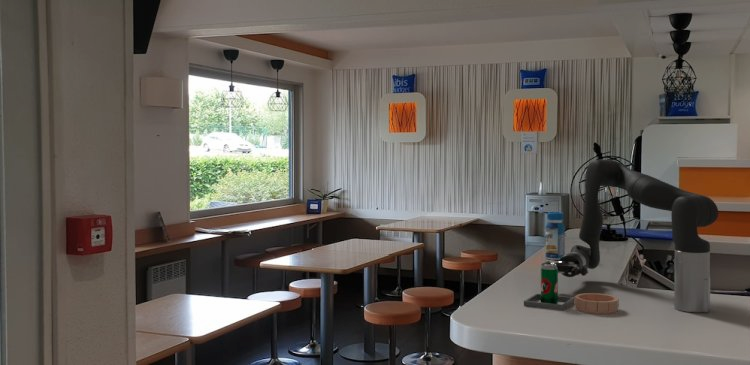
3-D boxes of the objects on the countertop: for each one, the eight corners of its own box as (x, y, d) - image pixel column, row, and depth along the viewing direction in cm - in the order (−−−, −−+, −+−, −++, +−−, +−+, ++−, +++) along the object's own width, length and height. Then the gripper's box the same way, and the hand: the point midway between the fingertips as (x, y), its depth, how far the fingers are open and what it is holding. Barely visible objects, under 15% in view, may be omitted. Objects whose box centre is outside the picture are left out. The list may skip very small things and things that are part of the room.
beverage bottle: (567, 260, 284) (567, 213, 283) (547, 260, 284) (547, 213, 283) (562, 257, 292) (562, 211, 291) (543, 257, 292) (543, 211, 292)
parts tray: (574, 302, 205) (574, 297, 205) (563, 310, 195) (563, 305, 195) (536, 298, 212) (536, 293, 211) (523, 305, 201) (523, 300, 201)
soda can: (558, 306, 200) (558, 266, 200) (541, 305, 201) (541, 266, 201) (557, 302, 205) (557, 263, 205) (540, 302, 206) (540, 263, 206)
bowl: (621, 307, 198) (622, 295, 198) (613, 316, 188) (613, 303, 188) (580, 303, 204) (581, 291, 204) (570, 311, 194) (570, 299, 194)
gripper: (551, 251, 230) (536, 258, 216) (594, 254, 222) (581, 262, 208) (551, 272, 230) (536, 281, 216) (593, 277, 223) (581, 286, 209)
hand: (558, 272), depth 212 cm, fingers open, 8 cm apart
